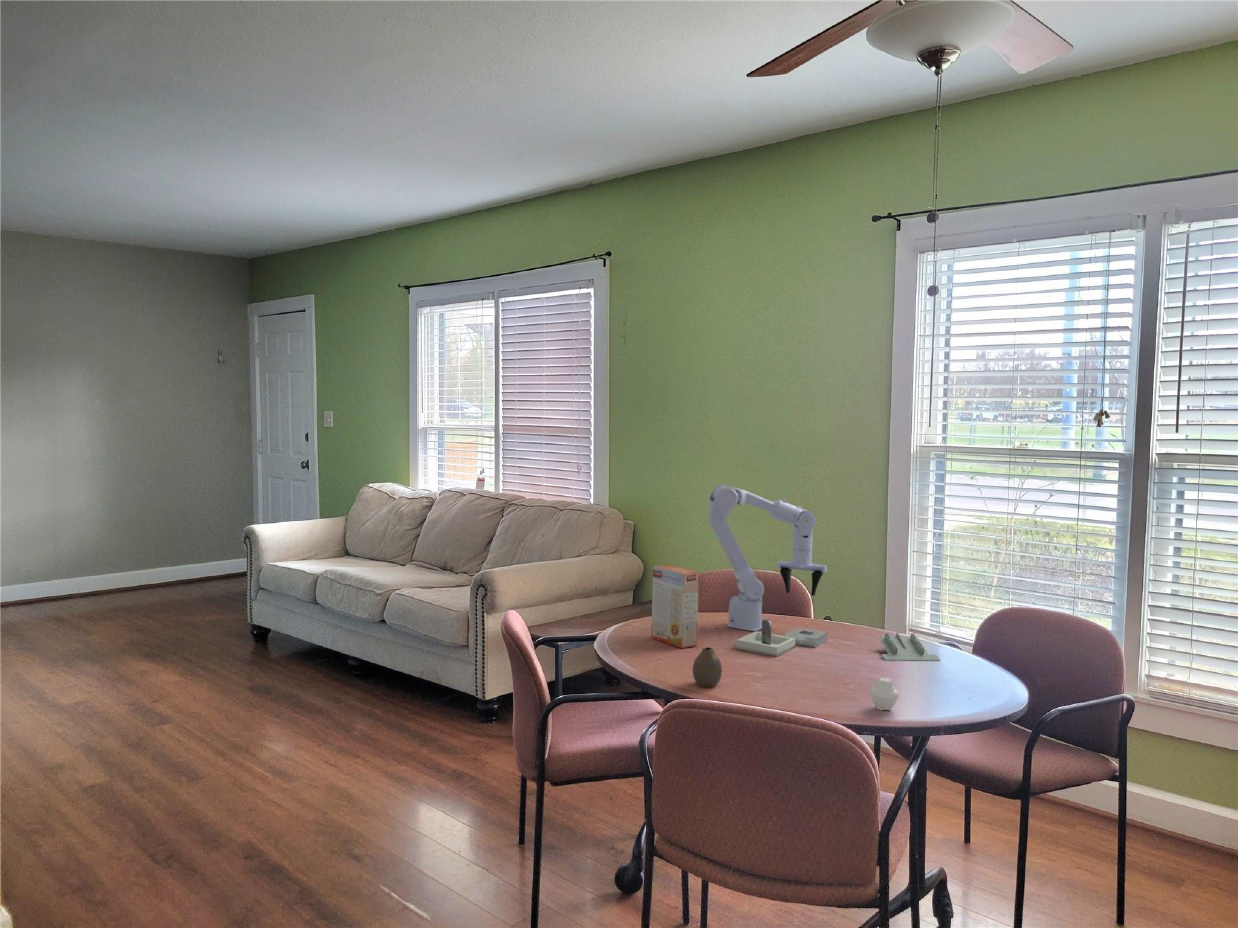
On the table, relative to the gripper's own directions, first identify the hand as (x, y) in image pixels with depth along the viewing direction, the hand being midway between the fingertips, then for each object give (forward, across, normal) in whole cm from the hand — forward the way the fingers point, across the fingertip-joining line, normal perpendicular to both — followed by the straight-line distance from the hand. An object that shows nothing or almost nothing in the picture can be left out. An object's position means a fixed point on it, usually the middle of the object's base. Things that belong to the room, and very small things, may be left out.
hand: (800, 593), depth 264 cm
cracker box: (+11, -27, -35) cm, 46 cm away
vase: (+11, -6, -67) cm, 68 cm away
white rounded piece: (+11, +34, -64) cm, 73 cm away
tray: (+10, -3, -28) cm, 30 cm away
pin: (+10, -3, -28) cm, 30 cm away
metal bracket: (+11, +32, -15) cm, 37 cm away
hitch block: (+10, +6, -15) cm, 19 cm away
